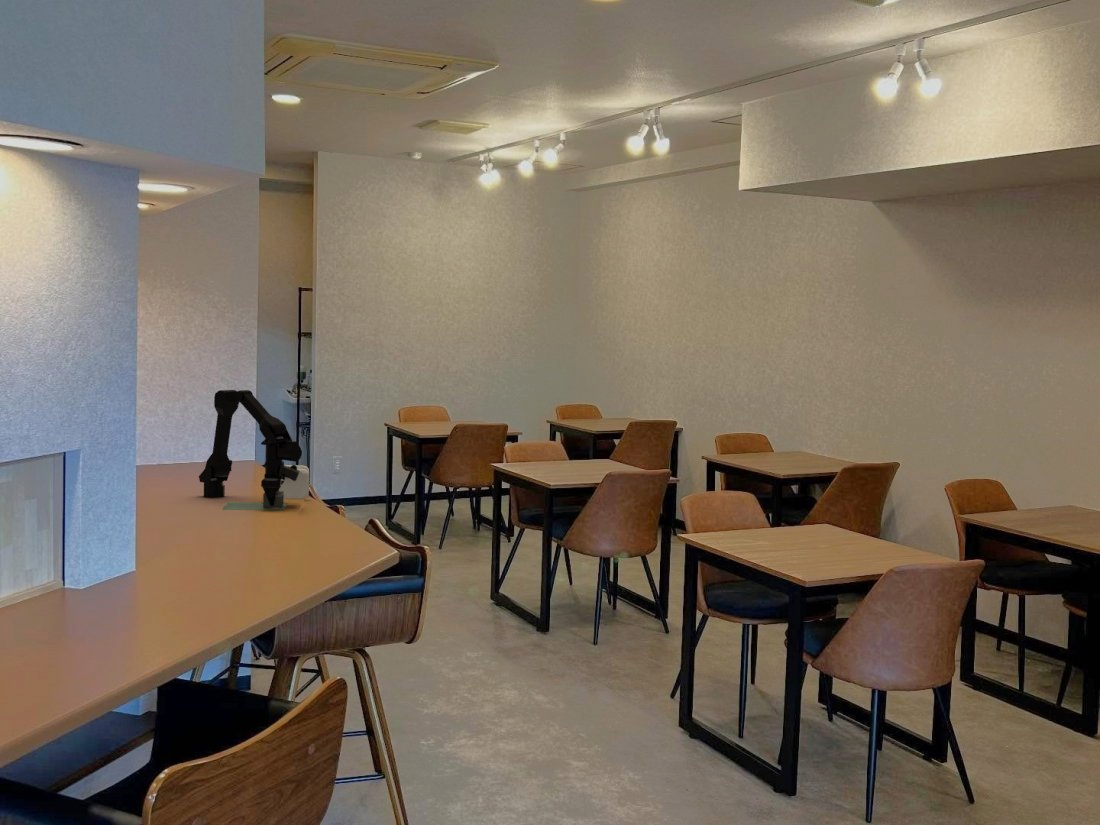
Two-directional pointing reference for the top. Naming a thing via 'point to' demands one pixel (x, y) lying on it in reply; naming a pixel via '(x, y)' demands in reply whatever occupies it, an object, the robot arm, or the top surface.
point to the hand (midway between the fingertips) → (273, 503)
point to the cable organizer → (296, 484)
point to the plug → (278, 500)
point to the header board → (249, 506)
